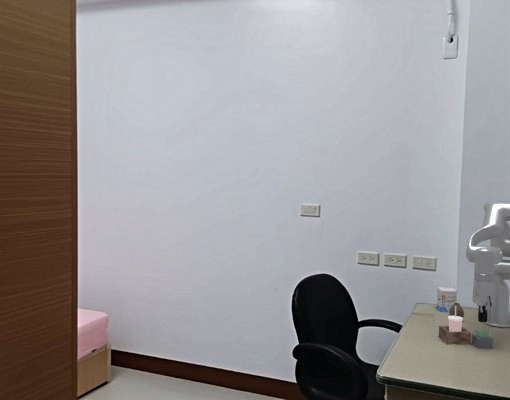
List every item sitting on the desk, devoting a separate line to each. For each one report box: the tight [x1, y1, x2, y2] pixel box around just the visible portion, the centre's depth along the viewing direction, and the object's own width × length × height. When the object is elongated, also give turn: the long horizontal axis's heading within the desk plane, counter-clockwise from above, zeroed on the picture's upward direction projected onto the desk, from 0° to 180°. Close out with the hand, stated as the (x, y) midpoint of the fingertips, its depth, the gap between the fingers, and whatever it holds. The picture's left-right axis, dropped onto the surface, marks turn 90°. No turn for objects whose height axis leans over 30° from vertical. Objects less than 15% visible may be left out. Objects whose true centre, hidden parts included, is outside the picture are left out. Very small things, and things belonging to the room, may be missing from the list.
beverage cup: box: [447, 306, 464, 332], centre depth 216 cm, size 6×6×14 cm
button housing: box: [471, 333, 494, 349], centre depth 209 cm, size 6×6×4 cm
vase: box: [448, 302, 465, 319], centre depth 247 cm, size 7×7×9 cm
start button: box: [475, 328, 490, 338], centre depth 209 cm, size 4×4×5 cm
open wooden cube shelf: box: [438, 325, 472, 345], centre depth 216 cm, size 10×10×5 cm
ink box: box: [436, 286, 458, 313], centre depth 268 cm, size 9×8×12 cm
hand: (482, 321), depth 208 cm, fingers closed
